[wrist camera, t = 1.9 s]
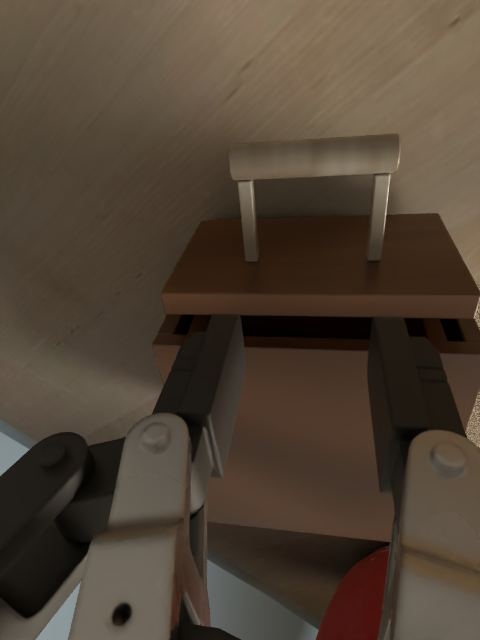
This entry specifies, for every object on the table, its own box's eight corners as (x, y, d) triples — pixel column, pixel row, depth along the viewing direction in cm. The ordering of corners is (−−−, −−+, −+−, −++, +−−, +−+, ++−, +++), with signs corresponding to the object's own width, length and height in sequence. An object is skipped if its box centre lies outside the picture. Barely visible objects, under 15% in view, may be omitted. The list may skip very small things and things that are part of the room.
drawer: (185, 123, 21) (128, 172, 15) (459, 102, 19) (525, 150, 13) (230, 392, 33) (208, 482, 27) (402, 401, 30) (421, 502, 24)
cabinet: (201, 247, 26) (151, 344, 19) (439, 242, 24) (492, 354, 16) (229, 411, 36) (203, 521, 28) (403, 422, 33) (426, 546, 25)
